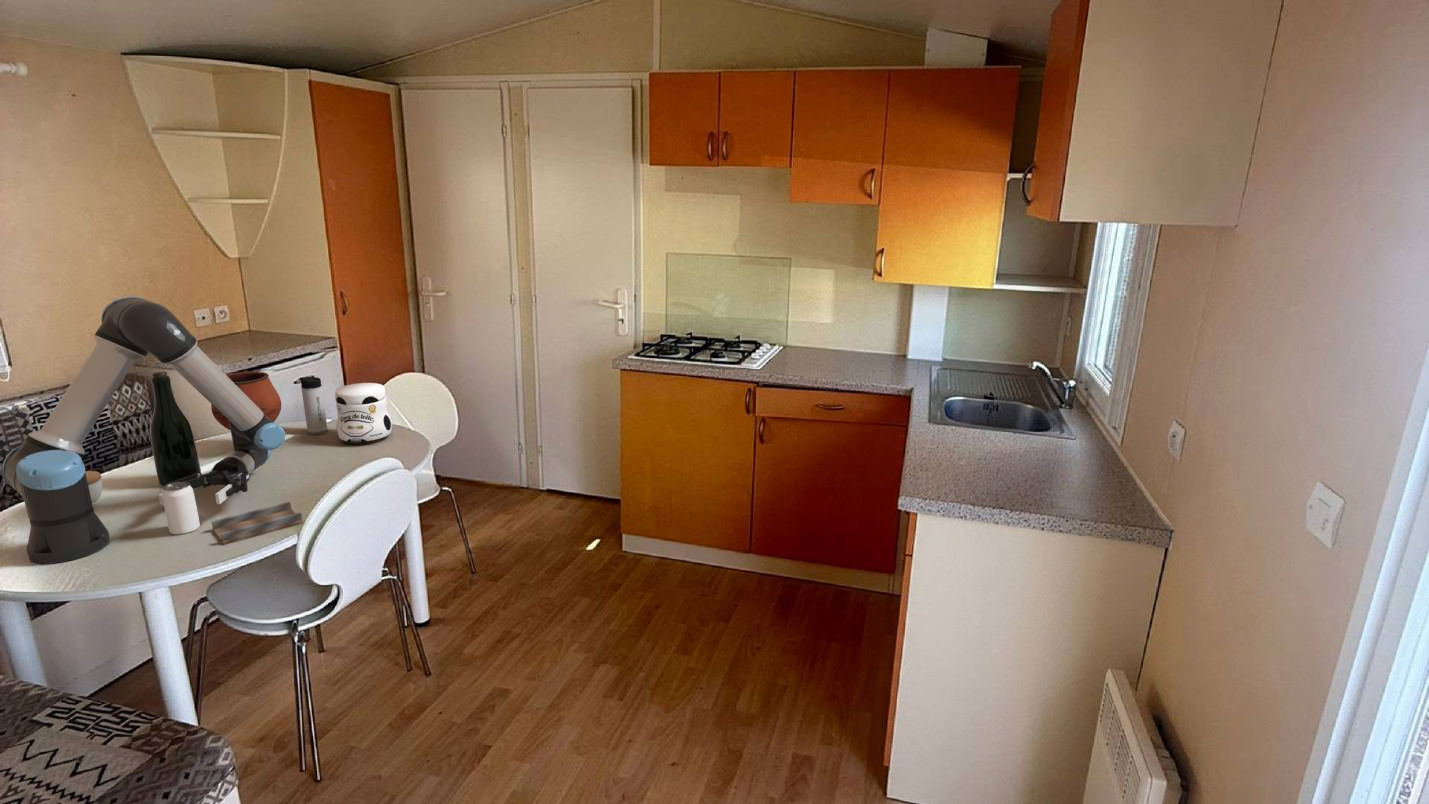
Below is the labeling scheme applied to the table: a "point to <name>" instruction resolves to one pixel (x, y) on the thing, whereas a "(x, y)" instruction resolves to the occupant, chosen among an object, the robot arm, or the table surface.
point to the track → (256, 523)
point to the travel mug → (314, 405)
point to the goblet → (254, 394)
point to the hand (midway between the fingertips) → (189, 499)
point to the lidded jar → (94, 484)
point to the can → (180, 508)
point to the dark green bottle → (171, 435)
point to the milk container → (362, 413)
